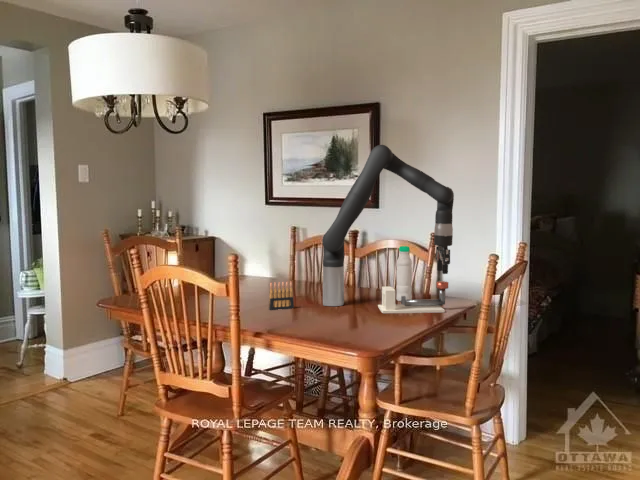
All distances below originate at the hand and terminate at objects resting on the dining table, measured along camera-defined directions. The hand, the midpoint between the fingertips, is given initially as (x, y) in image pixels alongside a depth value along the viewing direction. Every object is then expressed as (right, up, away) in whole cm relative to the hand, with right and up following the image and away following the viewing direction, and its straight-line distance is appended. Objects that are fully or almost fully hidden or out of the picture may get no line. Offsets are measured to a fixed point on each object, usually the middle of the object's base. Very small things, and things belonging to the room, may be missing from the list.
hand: (442, 272), depth 242 cm
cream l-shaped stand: (-13, -16, +1) cm, 21 cm away
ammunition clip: (-68, -16, +3) cm, 70 cm away
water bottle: (-13, -14, +21) cm, 29 cm away
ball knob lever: (-7, -14, +1) cm, 16 cm away
